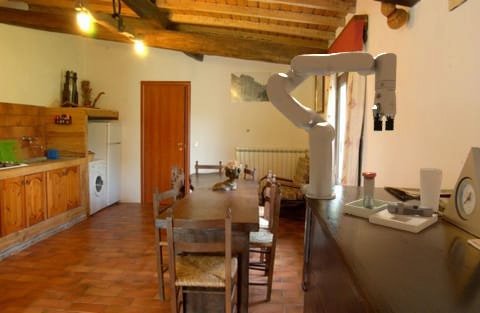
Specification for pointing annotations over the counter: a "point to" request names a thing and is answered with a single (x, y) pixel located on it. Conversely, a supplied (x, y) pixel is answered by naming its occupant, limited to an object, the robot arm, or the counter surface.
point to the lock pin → (368, 189)
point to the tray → (358, 209)
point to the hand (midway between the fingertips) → (383, 130)
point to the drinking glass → (430, 187)
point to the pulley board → (405, 216)
